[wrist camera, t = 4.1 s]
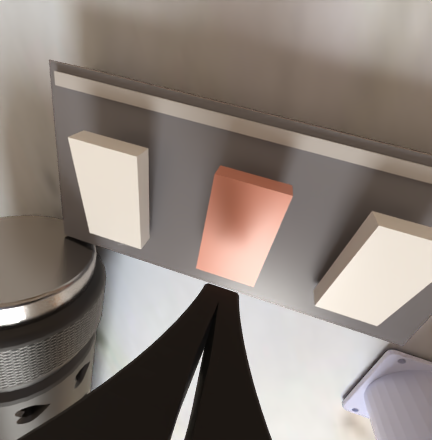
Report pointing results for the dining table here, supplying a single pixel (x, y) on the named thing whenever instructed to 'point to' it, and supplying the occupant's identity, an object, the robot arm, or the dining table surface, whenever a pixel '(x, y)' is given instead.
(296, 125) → the switch box
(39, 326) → the muzzle brake
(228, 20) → the dining table surface
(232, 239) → the rocker middle
